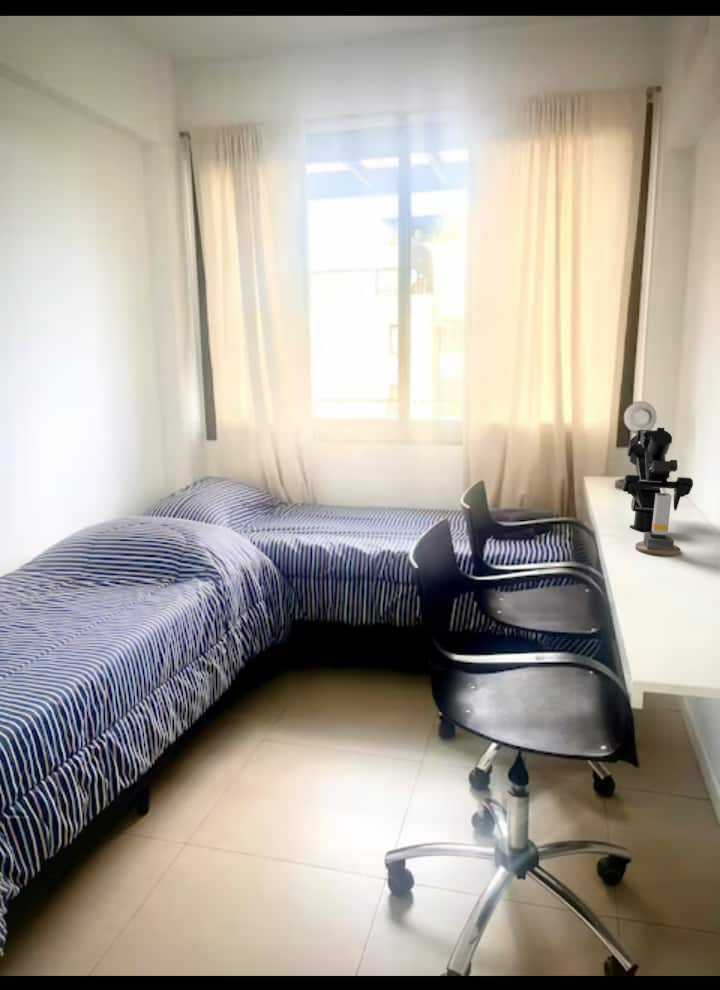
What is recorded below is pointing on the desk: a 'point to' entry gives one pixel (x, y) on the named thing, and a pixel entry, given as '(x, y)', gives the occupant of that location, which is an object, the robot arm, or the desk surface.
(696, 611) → the desk surface
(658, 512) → the post
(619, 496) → the desk surface
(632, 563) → the desk surface
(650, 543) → the stand base
